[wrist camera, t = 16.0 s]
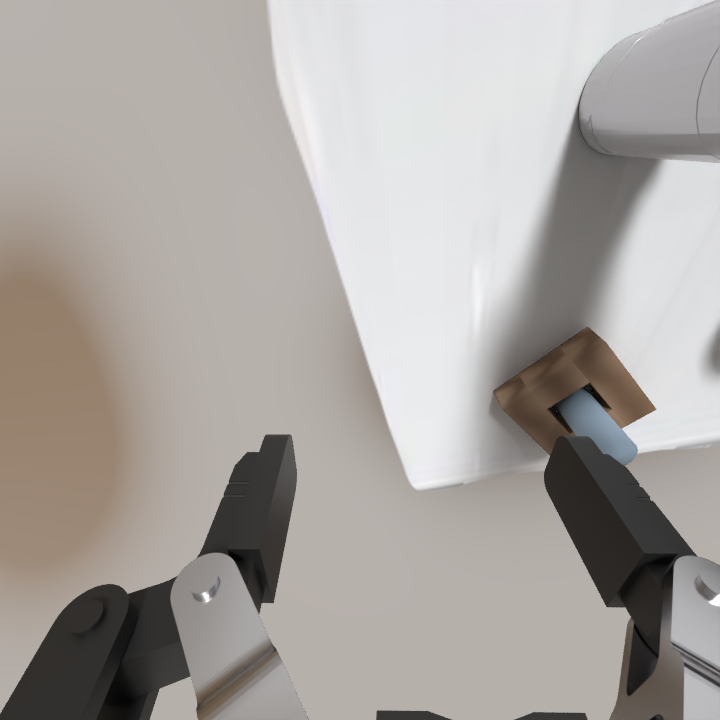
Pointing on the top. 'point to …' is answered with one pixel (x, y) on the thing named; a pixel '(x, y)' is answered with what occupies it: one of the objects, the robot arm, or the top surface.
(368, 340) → the top surface
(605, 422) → the peg
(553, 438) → the socket block
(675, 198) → the top surface
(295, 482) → the robot arm
